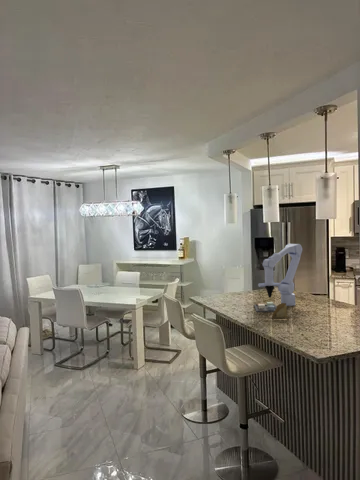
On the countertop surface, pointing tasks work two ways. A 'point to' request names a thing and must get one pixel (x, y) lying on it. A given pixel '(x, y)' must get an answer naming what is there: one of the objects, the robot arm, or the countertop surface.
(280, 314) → the rock
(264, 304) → the key cream
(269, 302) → the key sage
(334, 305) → the countertop surface
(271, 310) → the dark grey tray
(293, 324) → the countertop surface
